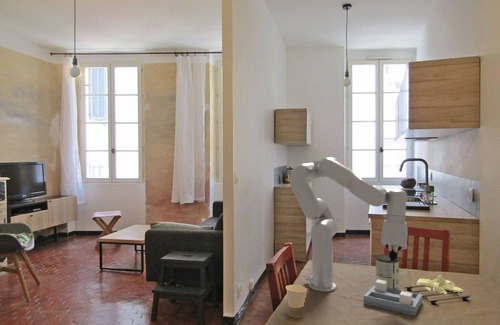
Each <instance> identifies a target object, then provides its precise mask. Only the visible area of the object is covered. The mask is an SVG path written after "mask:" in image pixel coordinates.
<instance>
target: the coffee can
mask: <svg viewBox="0 0 500 325" xmlns="http://www.w3.org/2000/svg"><path fill="white" fill-rule="evenodd" d="M399 262H400V258H399V257H398V256H397V259H396V260H395V261H390V258H389V254H385V253H384V254H377V255H376V256H375V282H376V281H377V280H378V279H379V280H384V281H387V287H388V288H393V289H398V290H400V288H399V287H400V286H399V285H400V284H399V282H400V280H399V279H400V278H399V277H400V276H399V275H400V274H399V273H400V272H399V271H400V268H399V267H400V266H399V265H400V263H399Z"/></svg>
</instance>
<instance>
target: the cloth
mask: <svg viewBox="0 0 500 325" xmlns="http://www.w3.org/2000/svg"><path fill="white" fill-rule="evenodd" d="M416 285H417V286H425V287H424V288H425V289H426V290H428V291H429V292H430V291H432V290H433V291H434V292H436V291H437V292H436V293H439V294H442V293H444V294H443V295H446V294H447V293H448V290H449V292H452V291H453V292H452V293H455V292H458V293H457V294H460V292H461V293H463V292H464V289H462V288H460V287H457V286H456V284H455V283H454V282H453V281H451V280H448V279H445V278H444V277H443V275H441V274H440V275H437V277H435V278H434V279H433V280H431V279H428V278H419V279H418V280H417V281H416ZM430 287H431V288H432V287H433V289H431V288H430ZM447 295H448V294H447Z"/></svg>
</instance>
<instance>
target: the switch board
mask: <svg viewBox="0 0 500 325" xmlns="http://www.w3.org/2000/svg"><path fill="white" fill-rule="evenodd" d="M402 291H404V292H409V293H412V305H411V306H410V305H406V304H401V303H399V298H400V293H401V292H402ZM363 304H364V305H368V306H372V307H374V308H375V307H376V308H381V309H384V310H389V311H393V312H397V313H402V314H406V315H410V316H413V317H415V316H416V315H417V313H418V311H419V309H420V307H421V306H422V304H423V294H421V293H416V292H411V291H407V290H402V289H393V288H388V287H387V292H383V291H378V290H375V284H373V285H372V286H371V288H370V289H368V291H366V293H365V294H364V295H363Z"/></svg>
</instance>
